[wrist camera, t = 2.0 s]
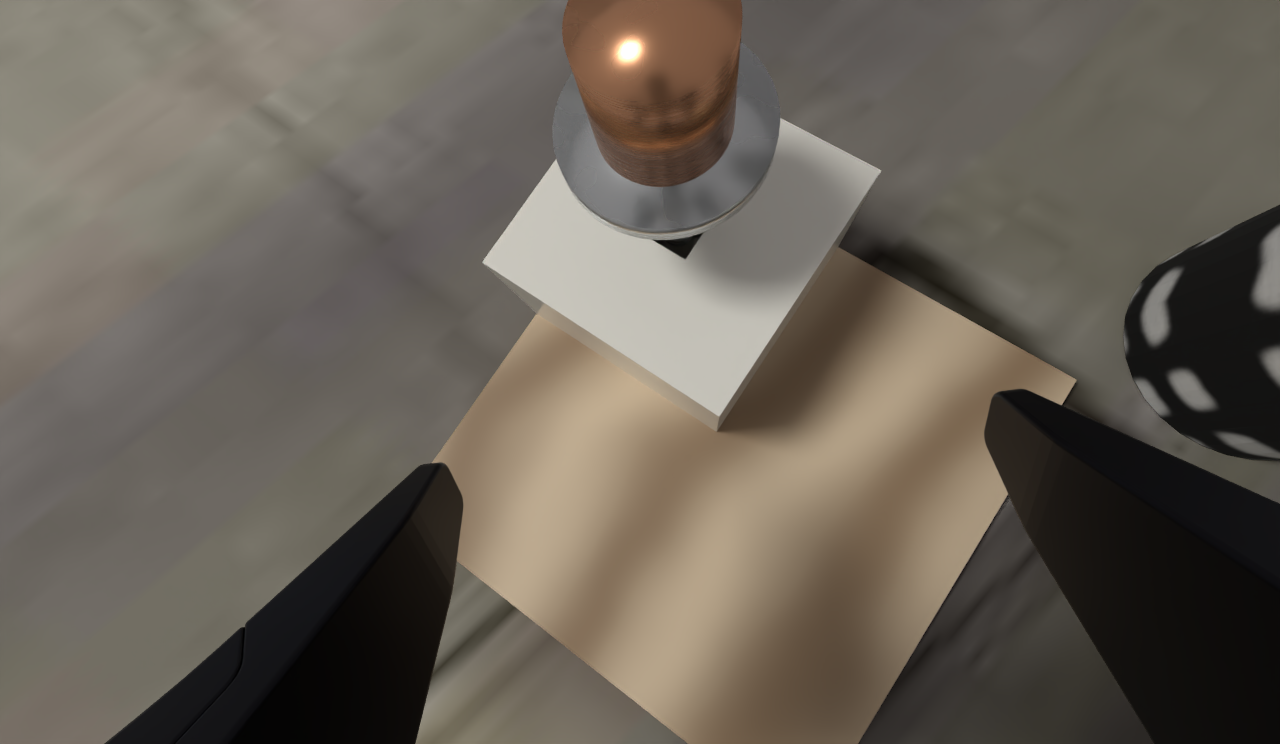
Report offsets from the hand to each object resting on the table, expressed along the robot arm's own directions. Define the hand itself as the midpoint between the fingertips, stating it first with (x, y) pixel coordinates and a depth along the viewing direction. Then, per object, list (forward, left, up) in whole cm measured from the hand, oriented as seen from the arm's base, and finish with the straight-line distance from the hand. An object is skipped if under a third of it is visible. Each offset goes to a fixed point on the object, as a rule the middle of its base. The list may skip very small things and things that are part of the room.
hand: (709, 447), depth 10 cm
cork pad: (0, -1, -14) cm, 14 cm away
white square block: (+5, -6, -13) cm, 15 cm away
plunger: (+5, -6, -8) cm, 11 cm away
